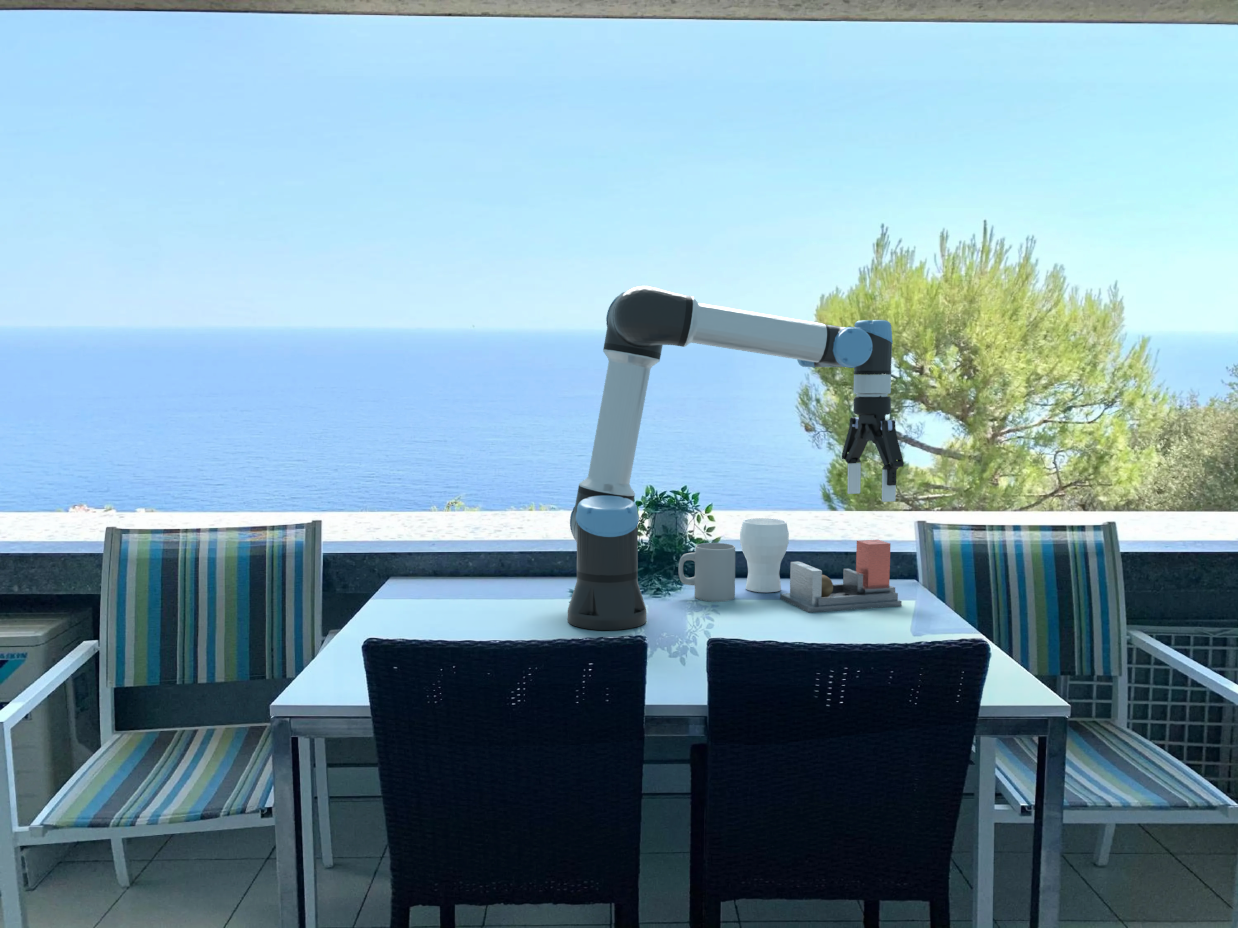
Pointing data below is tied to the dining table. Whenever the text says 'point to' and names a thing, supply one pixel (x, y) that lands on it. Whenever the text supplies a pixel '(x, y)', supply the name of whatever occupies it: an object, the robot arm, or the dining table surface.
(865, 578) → the block
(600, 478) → the robot arm
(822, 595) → the nut
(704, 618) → the dining table surface
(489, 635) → the dining table surface
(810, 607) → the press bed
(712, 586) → the mug
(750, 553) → the cup
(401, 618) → the dining table surface
